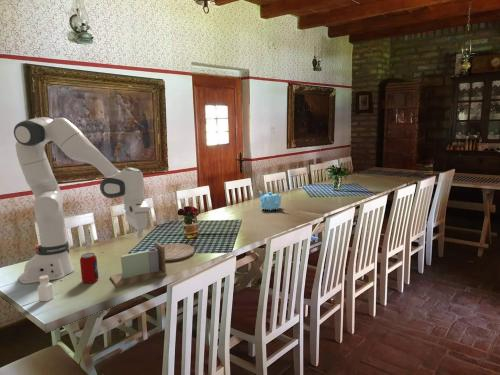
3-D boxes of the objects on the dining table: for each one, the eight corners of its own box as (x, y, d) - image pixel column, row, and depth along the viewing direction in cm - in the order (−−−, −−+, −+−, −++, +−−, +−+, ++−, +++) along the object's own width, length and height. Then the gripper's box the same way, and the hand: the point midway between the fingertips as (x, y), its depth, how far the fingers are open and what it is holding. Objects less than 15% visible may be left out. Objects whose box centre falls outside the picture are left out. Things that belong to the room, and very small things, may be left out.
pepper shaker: (47, 302, 147) (44, 279, 145) (38, 301, 148) (35, 278, 146) (54, 297, 151) (51, 275, 149) (45, 296, 151) (42, 274, 150)
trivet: (201, 248, 207) (201, 245, 207) (181, 265, 183) (181, 261, 183) (161, 245, 214) (160, 242, 214) (136, 261, 190) (136, 257, 190)
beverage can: (101, 280, 166) (99, 254, 164) (86, 285, 162) (83, 258, 159) (94, 276, 171) (91, 251, 169) (79, 281, 166) (76, 255, 164)
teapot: (259, 207, 302) (259, 190, 300) (283, 207, 300) (283, 190, 298) (257, 212, 287) (256, 194, 284) (283, 212, 284) (282, 194, 282)
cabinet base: (117, 287, 159) (114, 257, 157) (110, 277, 169) (107, 250, 167) (166, 275, 171) (165, 247, 168) (157, 266, 181) (156, 240, 178)
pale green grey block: (124, 279, 164) (122, 257, 163) (122, 276, 168) (120, 255, 166) (159, 271, 173) (157, 250, 171) (156, 268, 176) (154, 248, 174)
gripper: (121, 201, 172) (122, 231, 174) (134, 209, 155) (136, 242, 157) (134, 200, 175) (136, 228, 177) (149, 208, 158) (150, 239, 160)
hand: (136, 235), depth 167 cm, fingers open, 8 cm apart
